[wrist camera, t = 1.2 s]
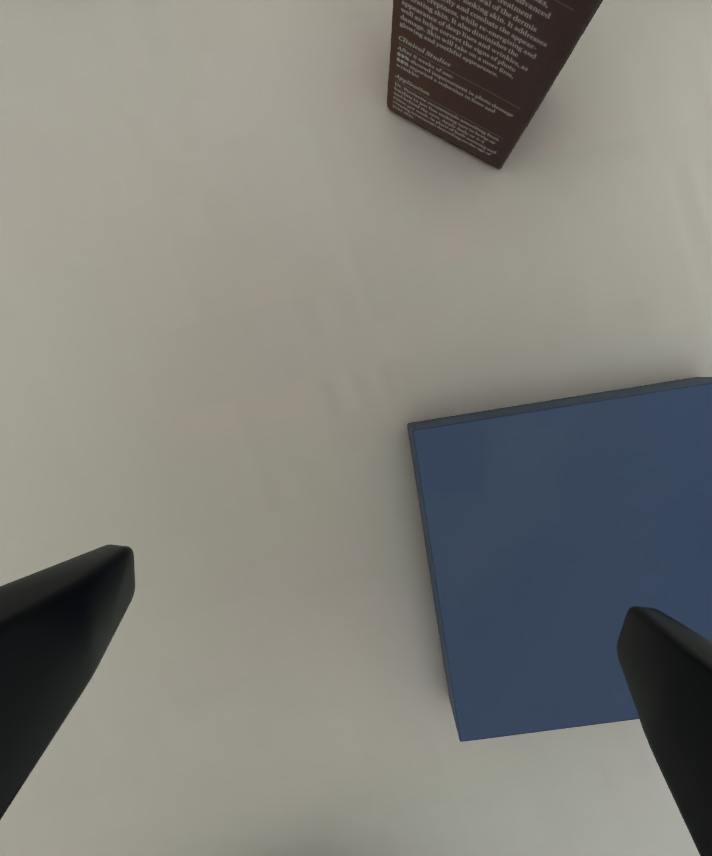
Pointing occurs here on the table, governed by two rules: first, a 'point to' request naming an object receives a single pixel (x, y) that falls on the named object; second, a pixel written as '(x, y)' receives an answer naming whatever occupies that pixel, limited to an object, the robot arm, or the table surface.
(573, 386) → the table surface
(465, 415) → the blue square block
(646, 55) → the table surface
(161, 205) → the table surface
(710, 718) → the robot arm
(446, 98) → the box
